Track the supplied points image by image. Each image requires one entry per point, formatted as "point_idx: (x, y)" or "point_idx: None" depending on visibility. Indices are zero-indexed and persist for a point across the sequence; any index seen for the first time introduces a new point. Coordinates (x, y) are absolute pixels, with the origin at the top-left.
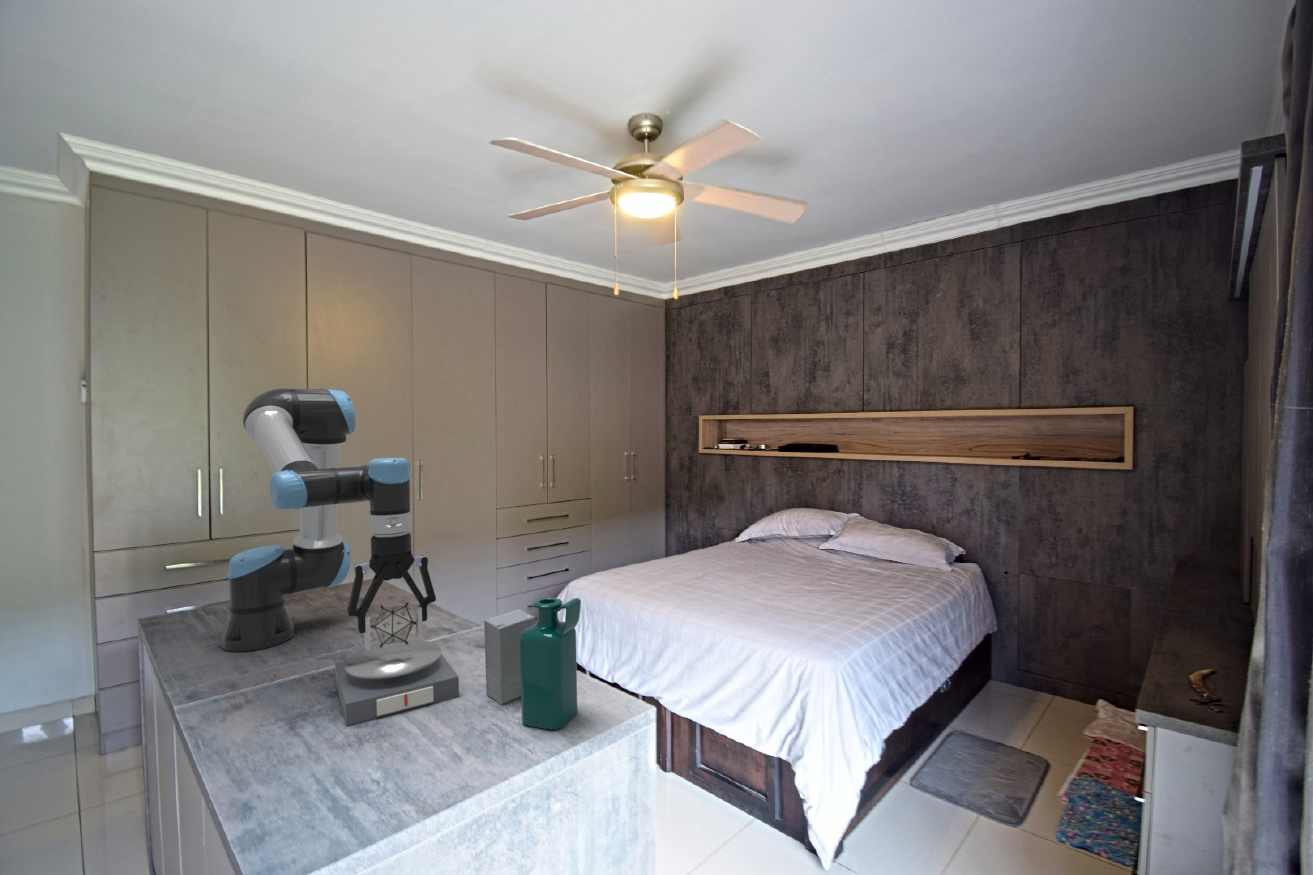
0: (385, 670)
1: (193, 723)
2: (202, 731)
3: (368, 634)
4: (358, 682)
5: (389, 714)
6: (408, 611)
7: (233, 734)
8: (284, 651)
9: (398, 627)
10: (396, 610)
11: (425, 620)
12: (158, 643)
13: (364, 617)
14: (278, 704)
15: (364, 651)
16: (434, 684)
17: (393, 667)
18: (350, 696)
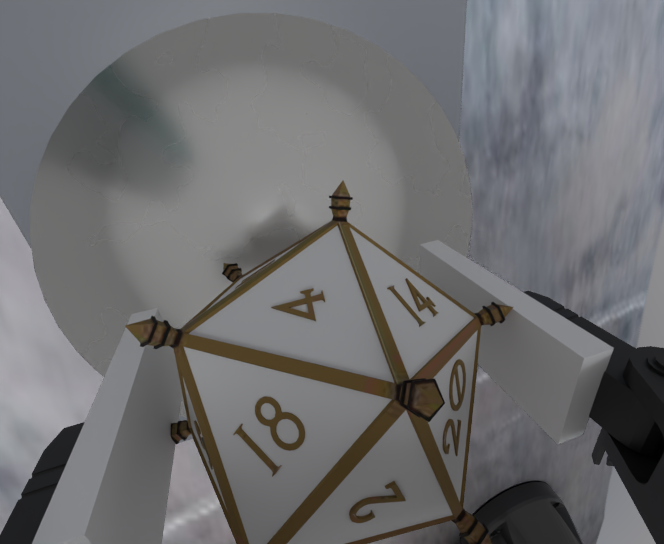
0: (330, 91)
1: (655, 214)
2: (658, 164)
3: (481, 279)
4: None
5: None
6: (224, 509)
7: (630, 112)
8: (482, 478)
9: (301, 273)
10: (358, 456)
11: (69, 429)
12: (600, 509)
13: (604, 365)
14: (532, 243)
15: None
16: None
17: (291, 117)
18: (443, 37)
